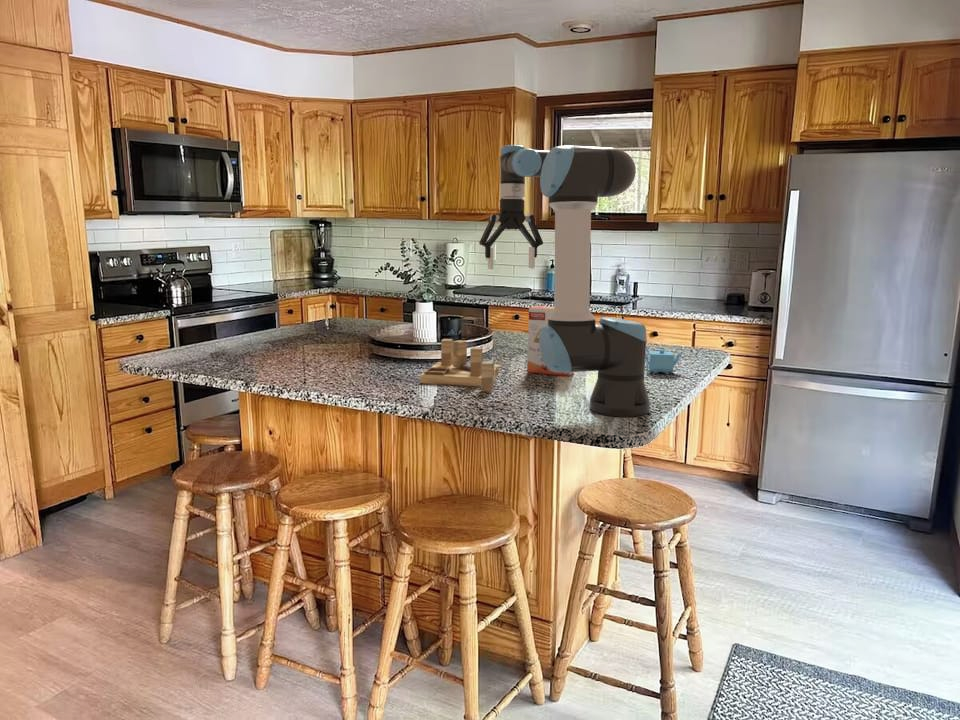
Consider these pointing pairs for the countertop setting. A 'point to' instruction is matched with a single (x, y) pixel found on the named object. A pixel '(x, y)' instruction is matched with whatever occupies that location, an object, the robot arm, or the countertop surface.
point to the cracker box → (536, 322)
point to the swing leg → (460, 354)
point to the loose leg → (487, 376)
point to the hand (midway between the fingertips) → (511, 268)
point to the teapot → (661, 361)
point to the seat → (456, 376)
